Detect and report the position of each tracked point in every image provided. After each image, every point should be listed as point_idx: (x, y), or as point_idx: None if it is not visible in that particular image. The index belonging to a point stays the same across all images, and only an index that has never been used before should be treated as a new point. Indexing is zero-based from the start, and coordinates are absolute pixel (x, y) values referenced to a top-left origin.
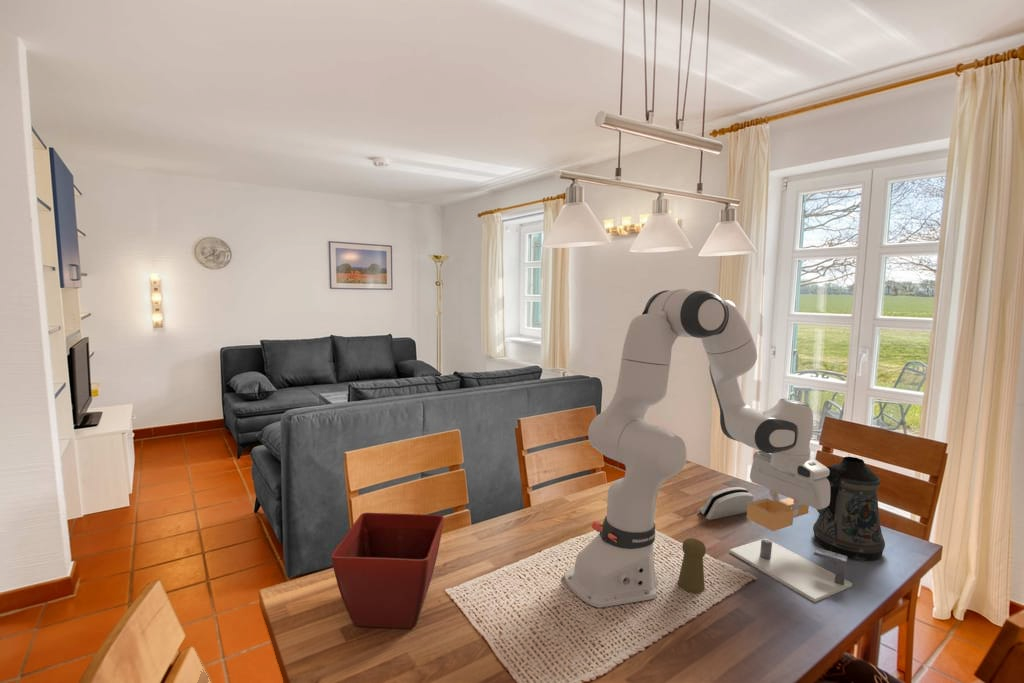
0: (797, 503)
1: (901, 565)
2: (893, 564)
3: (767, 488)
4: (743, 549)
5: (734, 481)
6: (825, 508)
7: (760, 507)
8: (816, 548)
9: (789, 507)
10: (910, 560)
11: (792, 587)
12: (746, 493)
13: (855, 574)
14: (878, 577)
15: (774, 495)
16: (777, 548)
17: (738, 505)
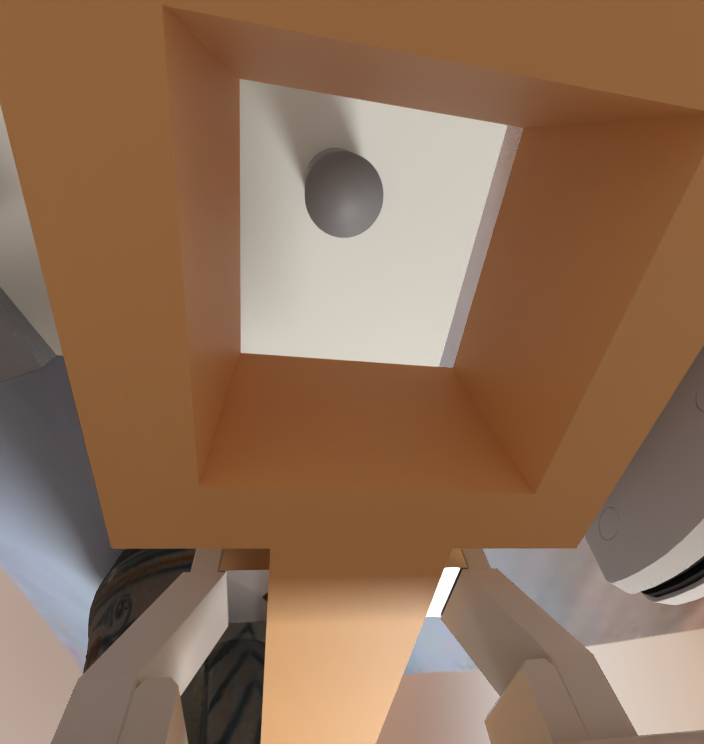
0: (82, 713)
1: (67, 602)
2: (80, 591)
3: (691, 734)
4: (464, 143)
5: (670, 625)
6: (207, 730)
7: (577, 43)
8: (14, 348)
9: (268, 575)
10: (85, 637)
11: None
12: (656, 576)
13: (57, 443)
14: (14, 492)
15: (516, 651)
16: (348, 339)
17: (639, 494)
